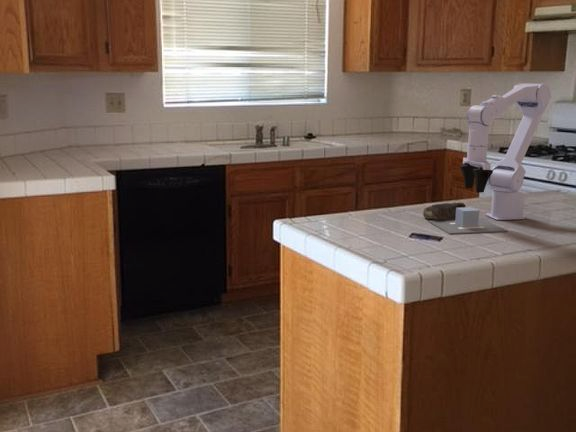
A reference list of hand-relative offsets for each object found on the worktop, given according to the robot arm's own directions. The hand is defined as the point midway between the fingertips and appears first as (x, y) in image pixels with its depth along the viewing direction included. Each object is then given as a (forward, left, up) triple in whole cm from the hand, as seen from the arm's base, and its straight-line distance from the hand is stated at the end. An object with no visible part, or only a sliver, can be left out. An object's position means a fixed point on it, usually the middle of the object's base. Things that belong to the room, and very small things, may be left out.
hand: (474, 190), depth 196 cm
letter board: (+4, +4, -10) cm, 12 cm away
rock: (+5, -8, -10) cm, 14 cm away
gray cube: (+4, +4, -10) cm, 11 cm away
